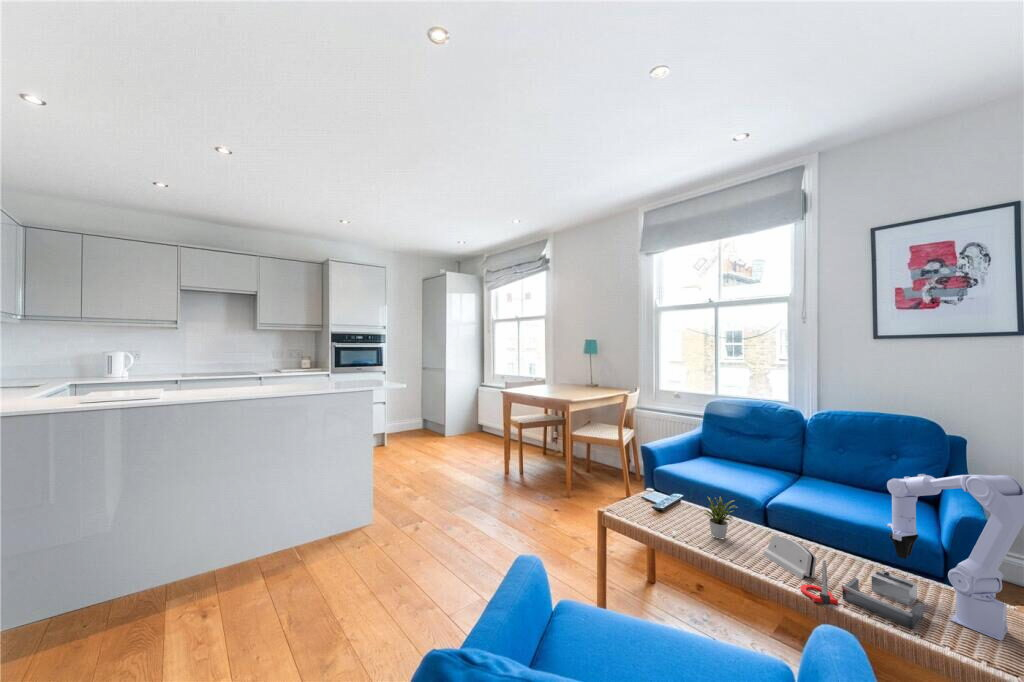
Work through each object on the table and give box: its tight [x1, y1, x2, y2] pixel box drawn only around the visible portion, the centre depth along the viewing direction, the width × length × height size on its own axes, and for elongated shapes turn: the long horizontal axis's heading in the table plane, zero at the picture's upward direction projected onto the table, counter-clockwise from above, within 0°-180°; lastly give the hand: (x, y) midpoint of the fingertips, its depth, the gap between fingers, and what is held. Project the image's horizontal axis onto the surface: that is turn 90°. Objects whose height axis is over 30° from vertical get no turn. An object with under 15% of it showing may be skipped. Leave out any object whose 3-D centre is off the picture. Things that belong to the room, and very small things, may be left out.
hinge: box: [762, 535, 817, 580], centre depth 146 cm, size 17×5×10 cm, turn 13°
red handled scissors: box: [800, 559, 839, 605], centre depth 129 cm, size 8×13×9 cm
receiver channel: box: [841, 577, 924, 630], centre depth 123 cm, size 16×11×4 cm, turn 33°
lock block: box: [871, 569, 918, 607], centre depth 129 cm, size 9×7×6 cm
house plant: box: [703, 496, 739, 539], centre depth 167 cm, size 14×14×16 cm
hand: (903, 556), depth 134 cm, fingers open, 3 cm apart
